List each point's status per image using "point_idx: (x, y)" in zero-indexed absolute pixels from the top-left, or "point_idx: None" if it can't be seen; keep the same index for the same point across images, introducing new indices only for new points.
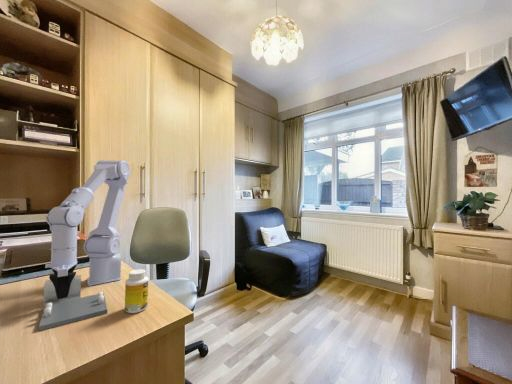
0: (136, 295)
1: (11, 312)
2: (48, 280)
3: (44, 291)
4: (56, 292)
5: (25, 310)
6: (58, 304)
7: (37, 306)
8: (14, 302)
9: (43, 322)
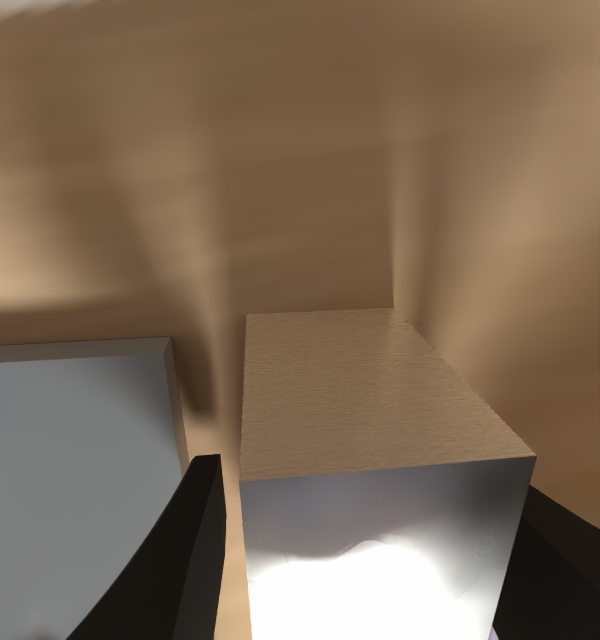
0: None
1: (267, 38)
2: (500, 492)
3: (245, 408)
4: (161, 517)
5: (242, 174)
6: (120, 451)
7: (287, 265)
8: (584, 15)
9: None
